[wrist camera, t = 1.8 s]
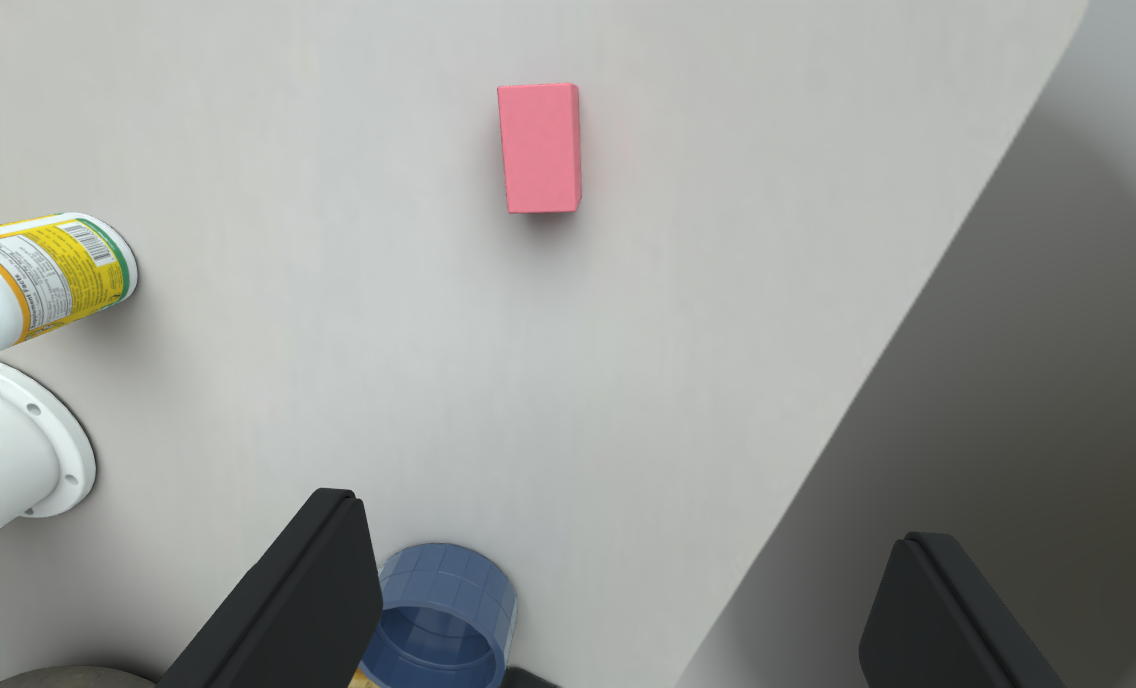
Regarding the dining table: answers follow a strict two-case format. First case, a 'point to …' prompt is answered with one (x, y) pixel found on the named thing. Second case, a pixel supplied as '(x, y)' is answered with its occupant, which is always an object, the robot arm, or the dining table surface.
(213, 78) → the dining table surface
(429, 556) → the bowl
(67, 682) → the clay pot
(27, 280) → the supplement bottle
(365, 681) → the bread
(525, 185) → the eraser
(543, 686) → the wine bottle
